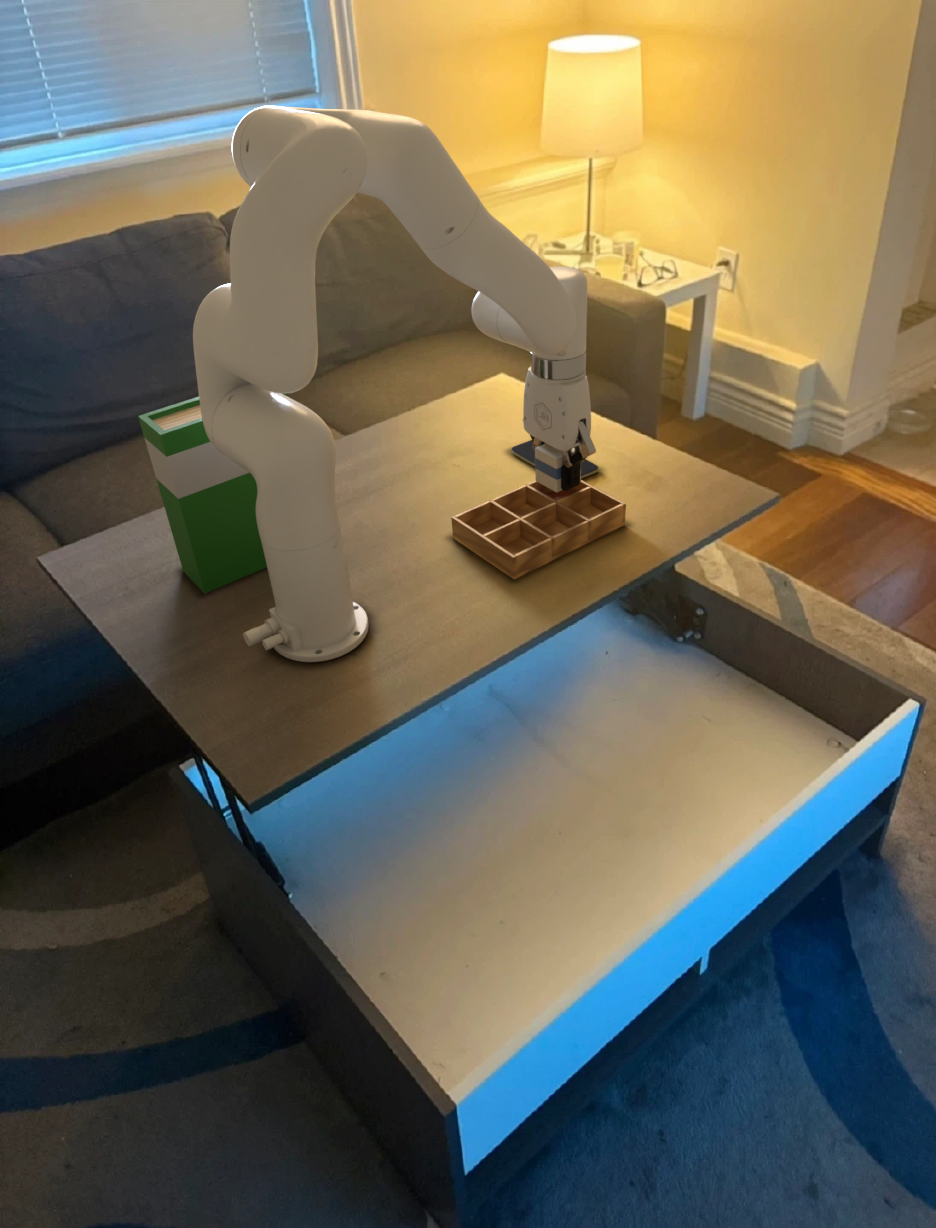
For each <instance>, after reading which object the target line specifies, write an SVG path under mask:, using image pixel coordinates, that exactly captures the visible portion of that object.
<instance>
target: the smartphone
mask: <svg viewBox="0 0 936 1228" xmlns="http://www.w3.org/2000/svg"><path fill="white" fill-rule="evenodd" d="M511 454H513V455H514V456H516V457H518V458H519V459H521V460H523V461H524V462H526V463H527V464H528V465H531V466H532V467H535V450H534V449H533V440H532V439H530V440H528V441H525V442H522V443H520V444H517V445H514V446H513V447H511ZM598 471H599V466H598V465H597V464H595V463H593V462H592V461H590V460H588V459H587V458H586V459H584V461H583V462H582V463H581V480H583V479H584V478H586V477H589V476H591V475H594V474H597V473H598Z"/></svg>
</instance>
